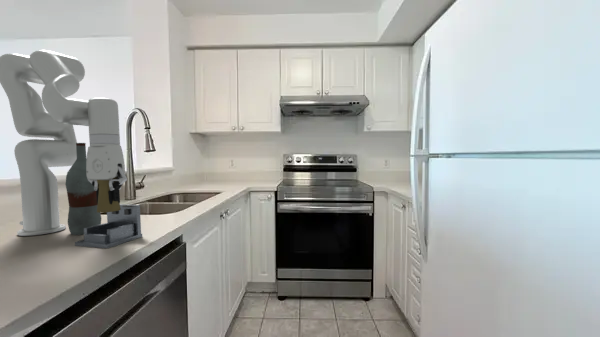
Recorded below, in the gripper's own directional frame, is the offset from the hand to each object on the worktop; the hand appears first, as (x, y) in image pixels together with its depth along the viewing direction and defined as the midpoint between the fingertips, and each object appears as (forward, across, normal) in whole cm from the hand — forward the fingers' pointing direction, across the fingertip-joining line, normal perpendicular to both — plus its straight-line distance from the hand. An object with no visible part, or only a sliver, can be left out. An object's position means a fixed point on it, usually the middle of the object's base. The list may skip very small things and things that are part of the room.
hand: (108, 202), depth 89 cm
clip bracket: (+11, 0, 0) cm, 11 cm away
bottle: (+11, -19, +7) cm, 23 cm away
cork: (+2, 0, 0) cm, 2 cm away
